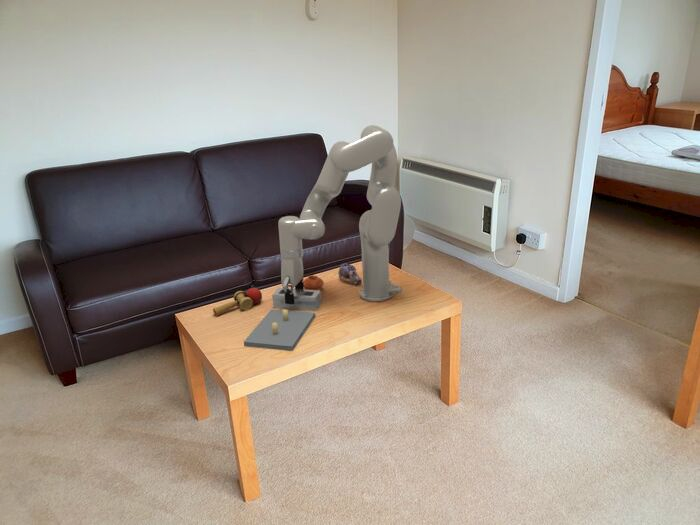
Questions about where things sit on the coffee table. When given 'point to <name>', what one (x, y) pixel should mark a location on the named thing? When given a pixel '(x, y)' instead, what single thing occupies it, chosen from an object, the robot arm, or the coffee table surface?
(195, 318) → the coffee table surface
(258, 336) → the pin board
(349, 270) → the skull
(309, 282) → the pot
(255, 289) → the kendama
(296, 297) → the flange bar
